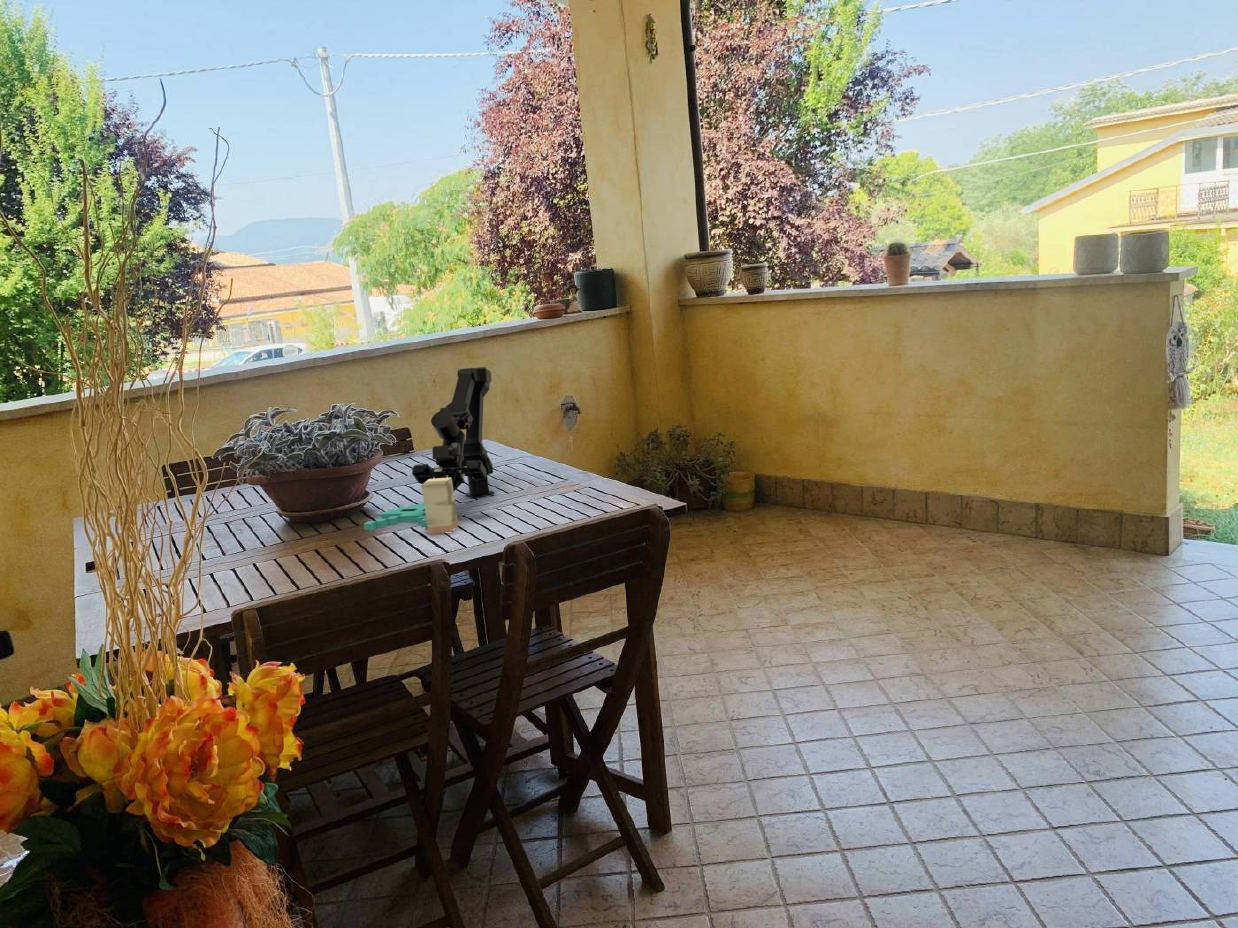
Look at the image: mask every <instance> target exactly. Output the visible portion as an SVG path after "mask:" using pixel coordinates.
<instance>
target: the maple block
mask: <svg viewBox="0 0 1238 928" xmlns="http://www.w3.org/2000/svg"><path fill="white" fill-rule="evenodd" d="M421 491H422V498H423V502H424V506H425V513H426V519H427V526H428V535H437V534H436V533H444V532H452V531H453V529H454V528H456V527H457V526H458V525H459V520H458V513H457V506H456V498H455V491H453V484H452V477H451V478H448V477H447V478H436V479H435V478H434V479H428V480H427V481H426V482H424V483H423V484H421ZM458 527H459V526H458ZM458 527H457V528H458ZM457 528H456V529H457ZM453 532H454V531H453ZM453 532H452V533H453Z"/></svg>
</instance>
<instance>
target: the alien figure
mask: <svg viewBox="0 0 1238 928" xmlns="http://www.w3.org/2000/svg"><path fill="white" fill-rule="evenodd" d="M400 523H417V525H419V526H421V528H424V529H425V530H428V526H427V519H426V513H425V506H424V501H423V502H420V503H417V504H410V505H408V506H399V507H398V508H396V509H394V508H393V509H387V510H385V511H384V512H382V513H380V518H378V519H377V520H374V521H373V520H372V521H371V520H370V521H369V520H368V521H366V522H364V523H363V527H364V531H373V530H375V529H377V528H378V529H379V528H386V527H387V526H396V525H398V524H400Z"/></svg>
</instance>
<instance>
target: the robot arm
mask: <svg viewBox="0 0 1238 928" xmlns="http://www.w3.org/2000/svg"><path fill="white" fill-rule="evenodd" d="M456 381H457V382H456V384H455V389H454V393H453V397H452V400H451V402H449V404H447V405H446V406H445V407H440V408H439V411H438V412H436V413H435V414H434V415H433V416H432V417H431V420H430V421H431V425H432V427H433V429H434V430H435V431H436V433H437V435H438V437H439V439H442V443H441V445H435V446H432V457H431V458H432V459H433V460H435V465H436V466H434V467H433V468H431V467H430V466H429V464H428V463H421V464H415V465H413V467H412V470H411V474H412V475H413V478H414V479H415V481H416V482H417V483H418V484H421V485H422V484H423V483H424V482H426V481H427V480H428V479H436V478H451V477H452V484H453V491H454V492H455V491H456V490H457V489H459V487H460V485H462V484H464V483H465V482H466V481H465V477H466V478H467V483H468V490H469V492H466V493H464V495H465V496H467V497H470V498H473V499H478V498H481V497H485V496H489V495H494V494H495V491H493V490H490V488H489V487H490V486H489V480H488V479H489V478H488V476H490V475H491V474H493V473H494V465H493V462H492V461H491V459H490V457H489V454H488V451H487V449H486V448H485V446H484V445H483V421H484V398H485V396H486V394H487V393H489V391H490V385H491V382H492V372H491V371H490V369H487V367H486V366H483V367H482V366H480V367H470V368H469V367H467V368H460V369H458V370H457V380H456ZM462 430H465V433H464V431H462ZM465 484H466V483H465Z"/></svg>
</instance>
